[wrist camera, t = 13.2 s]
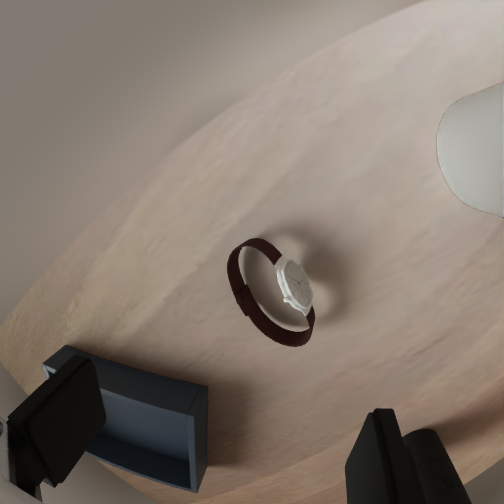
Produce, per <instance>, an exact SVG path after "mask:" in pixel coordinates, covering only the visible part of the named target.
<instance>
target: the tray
mask: <svg viewBox="0 0 504 504" xmlns="http://www.w3.org/2000/svg"><path fill="white" fill-rule="evenodd" d="M75 354H79V355H82V356H85V357H88V358H90V359H91V360H92V363H93V364H95V367H96V372H97V377H98V382H99V386H100V391H101V395H102V400H103V404H104V408H105V412H106V422H105V424H104V426H103V427H102V429H101V430H100V431H99V433H98V434H97V435H96V437H95V438H94V440H93V441H92V442H91V444H90V445H89V447H88V448H87V449H86V451H85V452H84V453H85V454H88V455H90V456H92V457H94V458H96V459H98V460H101V461H103V462H105V463H108V464H110V465H113V466H115V467H117V468H120V469H123V470H125V471H128V472H130V473H133V474H136V475H139V476H141V477H144V478H147V479H150V480H153V481H156V482H159V483H162V484H166V485H169V486H172V487H176V488H179V489H183V490H186V491H190V492H191V491H192V492H194V493H198V490H199V487H200V485H201V482H202V479H203V476H204V474H205V471H206V468H207V405H208V387H206V386H202V385H197V384H193V383H189V382H184V381H180V380H176V379H172V378H168V377H164V376H160V375H157V374H153V373H149V372H146V371H142V370H139V369H135V368H132V367H128V366H125V365H122V364H119V363H115V362H112V361H109V360H106V359H103V358H100V357H97V356H94V355H91V354H88V353H85V352H83V351H80V350H77V349H74V348H72V347H69V346H66V345H65V346H63V347H62V348H61V349H60V350H58V351H57V352H56V353H55V354H54V355H52V356H51V357H50V358H49V359H47V360H46V361H45V362H44V363H42V365H43V369H44V372H45V375H46V379H48V378H49V377H50V376H51V375H52V374H53V373H54V372H56V371H57V370H58V369H59V368H60V367H61V366H62V365H63V364H64V363H65V362H67V361H68V360H69V359H70V358H71V357H72V356H73V355H75Z"/></svg>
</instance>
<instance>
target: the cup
mask: <svg viewBox="0 0 504 504" xmlns="http://www.w3.org/2000/svg"><path fill="white" fill-rule="evenodd" d="M437 154H438V160H439V164H440V168H441V171H442V173H443V176H444V178H445V181H446V182H447V184H448V186H449V187H450V189H451V190H452V192H453V193H454V194H455V195H456V196H457V197H458V198H459V199H460V200H461V201H462V202H464V203H465V204H466V205H468V206H470V207H472V208H474V209H478V210H481V211H484V212H488V213H491V214H494V215H497V216H500V217H504V82H503V83H501V84H498V85H495V86H493V87H490V88H488V89H485V90H482V91H480V92H477V93H475V94H472V95H470V96H467V97H465V98H462V99H460V100H458V101H456V102H455V103H454V104H452V105H451V106H450V107H449V108H448V110H447V111H446V112H445V114H444V116H443V118H442V120H441V122H440V125H439V130H438V134H437Z"/></svg>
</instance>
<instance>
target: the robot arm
mask: <svg viewBox="0 0 504 504" xmlns="http://www.w3.org/2000/svg"><path fill="white" fill-rule="evenodd" d="M8 419H9V420H8V421H7V422H5V420H4V419H3V418H2V417H0V504H44V503H43V502H42V496H41V490H40V483H41V482H42V481H43V482H45V483H47V484H49V485H50V486H52V487H54V488H55V487H56V486H57V484H58V483H62V482H63V481H64V480H65V479H66V477H67V476H68V475H69V473H70V472H71V470H72V469H73V468H74V466H75V465H76V463H77V462H78V460H79V459H80V458H81V456H82V455H83V454H84V452H85V451H86V449H87V448H88V447H89V445H90V444H91V442H92V441H93V440H94V438H95V437H96V435H97V434H98V433H99V431H100V430H101V429H102V427H103V426H104V424H105V422H106V412H105V408H104V404H103V400H102V395H101V391H100V386H99V382H98V377H97V372H96V367H95V364H93V363H92V360H91V359H90V358H88V357H85V356H82V355H79V354H75V355H73V356H72V357H71V358H70V359H69V360H68V361H67V362H65V363H64V364H63V365H62V366H61V367H60V368H59V369H58V370H57V371H56V372H54V373H53V374H52V375H51V376H50V377H49V378H48V379H47V380H46V381H45V382H44V383H43V384H42V385H40V386H39V387H38V388H37V389H36V390H35V391H34V392H33V393H32V394H31V395H30V396H29V397H28V398H27V399H26V400H25V401H24V402H22V404H20V405H19V406H18V407H17V408H16V409H15V410H14V411H13V412H12V413H11V414H10V415H9V416H8ZM345 476H346V489H347V504H426V500H425V496H424V493H423V489H422V485H421V481H420V478H419V474H418V470H417V467H416V463H415V460H414V457H413V453H412V450H411V448H410V447H409V446H408V445H404V443H403V439H402V436H401V432H400V429H399V426H398V423H397V419H396V416H395V413H394V410H393V409H381V408H377V409H375V410H374V411H373V413H368V415H367V418H366V420H365V422H364V425H363V427H362V429H361V431H360V434H359V436H358V438H357V440H356V442H355V445H354V447H353V449H352V451H351V453H350V455H349V457H348V459H347V462H346V465H345Z"/></svg>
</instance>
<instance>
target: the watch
mask: <svg viewBox="0 0 504 504" xmlns="http://www.w3.org/2000/svg"><path fill="white" fill-rule="evenodd" d="M244 246H250V247H253V248H256V249H258V250H259V251H261V252H262V253H263V254H265V255H266V256H267V257H268V258H269V260H270V261H271V262H272V264H273V265H274V267H275V268H276V270H277V277H278V282H279V286H280V288H281V291H282V293H283V295H284V297H285V298H284V299H283V301H284V302H289V303H290V305H291V306H292V307H293V308H294V309H296V310H299V311H302V312H303V313H304V315H305V316H306V318H307V320H308V323H309V327H310V328H309V329H307V330H305V331H302V332H294V331H289V330H286V329H284V328H282V327H280V326H278V325H277V324H275V323H274V322H273V321H271V320H270V319H269V318H268V317H267V316H266V315H265V314H264V313H263V311H262V310H261V309H260V307H259V306H258V304H257V303H256V301H255V300H254V298H253V297H252V294H251V292H250V289H249V288H248V286H247V284H246V285H245V284H244V281H243V278H242V276H241V273H240V269H239V264H238V257H239V253H240V250H241V249H242V247H244ZM227 273H228V278H229V282H230V285H231V288H232V291H233V294H234V296H235V298H236V302H237V304H239V306H240V308H241V310H242V311H243V313H244V314H245V316H249V318H250V319H251V320H252V322H253V323H254V325H255V326H256V327H257V328H258V329H259V330H260V331H261V332H262V333H264V334H265V335H266V336H267V337H269V338H270V339H272V340H274V341H275V342H278V343H280V344H282V345H286V346H292V347H298V346H302V345H304V344H306V343H307V342H308V341H309V339H310V337H311V334H312V330H313V326H314V322H315V313H314V309H313V306H312V299H313V293H312V289H311V285H310V282H309V279H308V277H307V275H306V274H305V272H304V270H303V269H302V267H301V266H300V265H299V264H298V263H297V262H295V261H294V260H292V259H289V260H286V259H285V257H284V255H282V254H281V253H280V252H279V251H278V250H277V249H276V248H275V247H274V246H273V245H272V244H271V243H269V242H267V241H266V240H263V239H259V238H253V239H249V240H247V241H246V242H244V243H243V244H241V245H239V246H238V247H236V248H235V249H234V250H233V251H232V253H231V254H230V256H229V259H228V263H227Z"/></svg>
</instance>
